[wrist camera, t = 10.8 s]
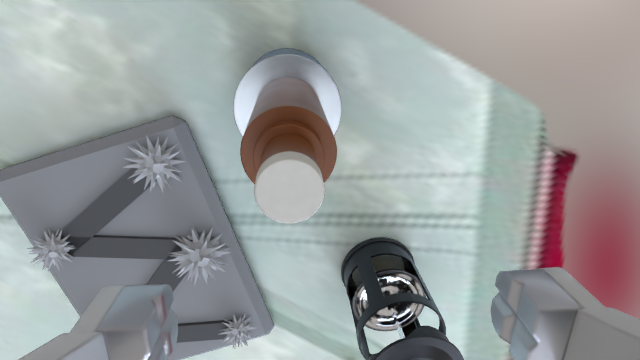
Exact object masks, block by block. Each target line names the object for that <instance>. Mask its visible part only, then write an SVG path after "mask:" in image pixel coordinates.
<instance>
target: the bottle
mask: <svg viewBox="0 0 640 360" xmlns="http://www.w3.org/2000/svg"><path fill="white" fill-rule="evenodd" d="M240 155H241V161H242V165H243V168H244V170H245V172H246V174H247V175H248V177H249V178H250V179H251V181H252V182H253V183H254V184H255V186H254V196H255V200H256V203H257V205H258V207H259V208H260V210H261V211H262V212H263V213H264V214H265V215H266V216H268V217H269V218H271V219H273V220H275V221H277V222H281V223H298V222H301V221H304V220H306V219H308V218H309V217H311V216H312V215H313V214H315V213H316V212H317V210H318V209H319V208H320V206H321V204H322V202H323V199H324V195H325V186H324V182H325V181H326V180H327V179H328V177H329V176H330V174H331V173H332V171H333V168H334V166H335V162H336V157H337V146H336V141H335V138H334V135H333V132H332V130H331V127H330V125H329V122H328V120H327V117H326V115H325V113H324V110H323V108H322V105H321V103H320V100H319V98H318V96H317V94H316V92H315V91H314V89H313V88H312V87H311V86H310V85H308V84H307V83H305V82H304V81H302V80H299V79H296V78H290V77H285V78H279V79H276V80H274V81H272V82H270V83H269V84H267V85H266V86H265V87H264V88H263V89H262V90H261V92H260V94H259V95H258V98H257V100H256V103H255V106H254V108H253V111H252V114H251V116H250V119H249V122H248V124H247V127H246V130H245V132H244V135H243V138H242V142H241V148H240Z"/></svg>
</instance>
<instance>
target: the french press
mask: <svg viewBox="0 0 640 360" xmlns="http://www.w3.org/2000/svg"><path fill="white" fill-rule="evenodd" d="M379 255H395V256H399V257H401V258H402V259H403V261H404V265H405V271H403V270H399V269H385V270H380V271H377V272H375V269H374V266H373V264H372V261H371V258H372V257H375V256H379ZM357 267H358V268H359V271H360V275H361V278H362V282H361V283H360V284H359V286H358V287H357V286H356V284H355V283H354V281H353V279H352V273H353V271H354V270H355V269H356V268H357ZM341 274H342V280H343V283H344V286H345V287H346V291H347V295H348V297H349V300H350V305H351V309H352V314H353V318H354V323H355V327H356V334H357V341H358V345H359V349H360V351H361V354H362V355H363V357H364V358H365V359H366V360H464V358H463V356H462V355H461V353H460V351H459V350H458V349H457V347H456V346H455V345H454V344H452V343H451V342H449V340H448V339H447V337H446V336H445V335H446V327H445V323H444V320H443V318H442V316H441V314H440V312H439V310H438V308H437V306H436V305H435V303H434V301H433V299H432V297H431V295H430V293H429V291H428V289H427V287H426V285H425V283H424V281H423V280H422V278H421V276H420V274H419V272H418V270H417V268H416V266H415V263H414V259H413V256H412V255H411V253H410V251H409V250H408V249H407V248H406V247H405V246H404V245H403V244H401V243H400V242H398V241H396V240H393V239H389V238H374V239H369V240H366V241H364V242H362V243H360V244H358V245H357V246H355V247H354V248H353V249H352V250H351V251H350V252H349V253H348V254H347V256H346V258H345V259H344V262H343V265H342V271H341ZM426 296H427V298H428V299H427V298H426ZM424 305H425V306H427V307H429V308H431V309H432V310H434V311H435V312H436V313H437V314H438V315H439V321H440V326H439V330H437V329H436V328H433V327H430V326H420V323H419V321H418V319H417V317H418V316H419V315H420V313H421V312H422V310H423V308H424ZM364 326H366V327H368V328H370V329H373V330H377V331H392V330H397V329H398V332H399V335H400V338H401V339H400V340H397V341H395V342H393V343H391V344H390V345H388V346H387V347H385V348H384V349H382V350H381V351H380V352H379V353H377V354H373V355H372V354H370V353H369V349H368V345H367V341H366V337H365V333H364V329H363V327H364ZM401 328H402V330H403V333H404V335H405V338H404V336H403V333H402V330H401Z"/></svg>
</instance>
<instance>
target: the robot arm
mask: <svg viewBox="0 0 640 360" xmlns="http://www.w3.org/2000/svg"><path fill="white" fill-rule="evenodd" d="M495 286H496V287H497V289H498V290H499V293H498V294H497V295H496V296H495V297H494V298H493V299H492V305H491V317H492V323H493V325H494V328H495V330H496V332H497V333H498V335H499V337H500V338H501V339H503V340H505V341H506V342H508V343H509V344H511V345H510V350H509V352H510V354H511V355H512V357H513V358H514V360H640V320H639V319H637V318H635V317H632V316H630V315H628V314H626V313H623V312H621V311H619V310H616V309H614V308H606V307H604V306H603V305H602V304H601V303H600V302H599V301H598V300H597V299H596V298H595V297H594V296H593V295H591V294H590V293H589V292H588V291H587V290H586V289H585V288H584V287H583V286H582V285H581V284H579V282H577V281H576V280H575V279H574V278H573V277H572V276H571V275H570V274H569V273H568V272H567V271H566V270H564V269H562V268H559V267H554V268H540V269H532V270H513V271H500V272H499V274H498V275H497V278H496V283H495ZM173 300H174V297H173V292H172V287H171V286H170V285H169V284H161V285H127V286H125V285H118V286H105V287H103V288H101V289H100V290H99V292H98V293H97V295H96V296H95V297H94V299H93V300H92V302H91V303H90V305H89V306H88V307H87V309H86V310H85V312H84V313H83V314H82V316H81V317H80V319H79V320H78V321H77V323H76V324H75V326H74V327H73V328H72V330H71V331H70V333H64V334H61V335H59V336H57V337H56V338H54V339H52V340H51V341H49V342H47V343H46V344H44V345H42V346H41V347H39V348H37V349H36V350H34V351H32V352H31V353H29V354H27V355H25V356H24V357H22V358H20V359H19V360H167V359H168V358H169V357H170V356H171V355H173V353H174V349H175V346H176V342H177V335H178V321H177V314H176V313H175V312H174V311H173V310H172V309H171V308H170V307H171V305H172V302H173Z"/></svg>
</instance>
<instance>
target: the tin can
mask: <svg viewBox="0 0 640 360" xmlns="http://www.w3.org/2000/svg"><path fill="white" fill-rule="evenodd" d="M285 77H290V78H296V79H299V80H302V81H304V82H305V83H307V84H308V85H310V86H311V87H312V88H313V89H314V91H315V92H316V94H317V96H318V98H319V100H320V103H321V105H322V108H323V110H324V113H325V115H326V117H327V120H328V122H329V125H330V127H331V130H332V132H333V135H335V133H336V131H337V129H338V126H339V123H340V119H341V110H342V108H341V99H340V94H339V91H338V88H337V86H336V84H335V82H334V81H333V79H332V77H331V76H330V75H329V74H328V72H327V71H326V70H325V69H324V68H323V67H322V66H321V65H320V63H319V62H318V61H317V60H316V59H314V58H313V57H312V56H310V55H309V54H307V53H305V52H303V51H300V50H296V49H289V48H284V49H277V50H274V51H271V52H269V53H267V54H265V55H263V56H262V57H261V58H259V59H258V60H257V61H256V62H255V64H254V65H253V66H252V67H251V68H250V69H249V70H248V71H247V73H246V74H245V75H244V76H243V78H242V79H241V81H240V83H239V85H238V87H237V90H236V93H235V97H234V117H235V121H236V125H237V127H238V130H239V132H240V134H241V135H242V137H243V135H244V132H245V130H246V127H247V124H248V122H249V119H250V116H251V114H252V111H253V108H254V106H255V103H256V100H257V98H258V95H259V94H260V92H261V90H262V89H263V88H264V87H265V86H266V85H267V84H269V83H270V82H272V81H274V80H276V79H279V78H285Z"/></svg>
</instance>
